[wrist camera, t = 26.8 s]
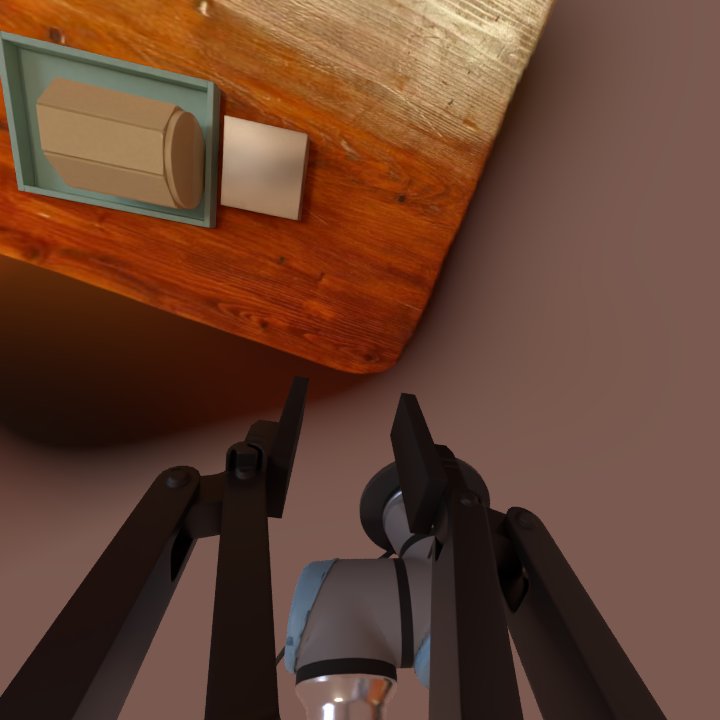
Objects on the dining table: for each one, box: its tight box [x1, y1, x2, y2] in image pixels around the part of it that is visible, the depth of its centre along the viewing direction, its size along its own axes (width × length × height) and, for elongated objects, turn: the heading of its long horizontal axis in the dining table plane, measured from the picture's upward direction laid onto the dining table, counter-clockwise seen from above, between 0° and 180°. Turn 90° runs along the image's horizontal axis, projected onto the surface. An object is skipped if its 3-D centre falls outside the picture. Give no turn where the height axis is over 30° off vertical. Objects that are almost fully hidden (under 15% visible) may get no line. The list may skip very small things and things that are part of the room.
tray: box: [0, 31, 221, 228], centre depth 35 cm, size 19×13×2 cm
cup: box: [36, 77, 206, 209], centre depth 32 cm, size 8×8×10 cm
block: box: [221, 115, 310, 220], centre depth 36 cm, size 8×8×3 cm
